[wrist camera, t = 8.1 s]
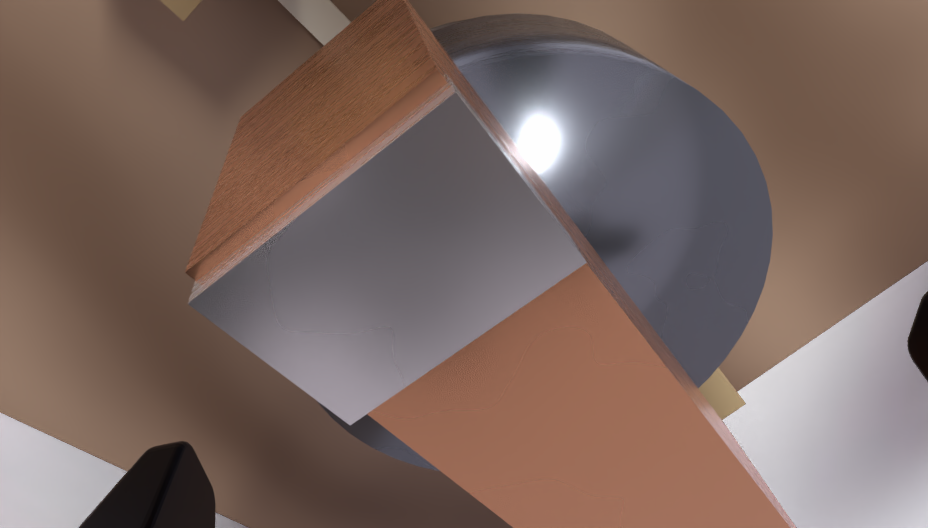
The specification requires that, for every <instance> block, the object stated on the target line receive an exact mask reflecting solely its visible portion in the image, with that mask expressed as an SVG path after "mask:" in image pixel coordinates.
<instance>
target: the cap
mask: <svg viewBox="0 0 928 528" xmlns="http://www.w3.org/2000/svg"><path fill="white" fill-rule="evenodd" d="M772 238H773V226H772V207H771V202H770V197H769V193H768V188H767V183H766V180H765V177H764V175H763V172H762V170H761V167H760V164H759V162H758V159H757V157H756V155H755V153H754V152H753V150H752V148H751V147H750V145H749V143H748V142H747V140H746V138H745V137H744V135H743V133H742V132H741V131H740V130H739V128H738V127H737V126H736V125H735V124H734V123H733V122H732V120H731V119H730V118H729V117H728V116H727V115H726V114H725V112H724V111H723V110H722V109H721V108H719V107H718V106H717V105H716V104H714V103H713V102H712V101H711V100H709V99H708V98H707V97H706V96H704V95H703V94H702V93H701V92H699V91H698V90H697V89H695V88H693V87H692V86H690V85H689V84H687V83H686V82H684V81H682V80H681V79H679V78H678V77H676V76H675V75H673V74H672V73H670V72H668V71H667V70H665V69H664V68H662V67H661V66H659V65H658V64H656V63H654V62H653V61H651V60H650V59H648V58H647V57H645V56H643V55H642V54H640V53H639V52H637V51H636V50H634V49H633V48H631V47H629V46H628V45H626V44H624V43H623V42H621V41H619V40H617V39H616V38H614V37H612V36H610V35H608V34H607V33H605V32H603V31H601V30H598V29H595V28H593V27H590V26H587V25H584V24H582V23H579V22H576V21H572V20H568V19H563V18H558V17H553V16H548V15H536V14H520V13H513V14H501V15H488V16H481V17H477V18H472V19H468V20H463V21H459V22H454V23H451V24H448V25H446V26H443V27H440V28H438V29H435V30H432V31H430V29H429V28H428V27H427V25H426V24H425V23H424V21H423V20H422V19H421V17H420V16H419V15H418V13H417V12H416V11H415V9H414V8H413V7H412V5H411V4H410V3H409V1H408V0H377V1H376V2H375V3H374V4H372V5H371V6H370V7H369V8H368V9H367V10H365V11H364V12H363V13H362V14H361V15H360V16H358V17H357V18H356V19H355V20H354V21H352V22H351V23H350V24H349V25H348V26H347V27H345V28H344V29H343V30H342V31H341V32H340V33H338V34H337V35H336V36H335V37H334V38H333V39H331V40H330V41H329V42H328V43H327V44H325V45H324V46H323V47H322V48H321V49H320V50H318V51H317V52H316V53H315V54H314V55H313V56H311V57H310V58H309V59H308V60H307V61H305V62H304V63H303V64H302V65H301V66H300V67H298V68H297V69H296V70H295V71H294V72H293V73H291V74H290V75H289V76H288V77H287V78H286V79H284V80H283V81H282V82H281V83H280V84H278V85H277V86H276V87H275V88H274V89H273V90H271V91H270V92H269V93H268V94H267V95H266V96H264V97H263V98H262V99H261V100H260V101H259V102H257V103H256V104H255V105H254V106H253V107H251V108H250V109H249V110H248V111H247V112H246V113H244V114H243V115H242V116H241V117H240V120H239V123H238V126H237V128H236V131H235V134H234V137H233V140H232V142H231V145H230V148H229V151H228V153H227V156H226V159H225V162H224V165H223V167H222V170H221V173H220V176H219V179H218V181H217V184H216V187H215V190H214V192H213V195H212V198H211V201H210V204H209V206H208V209H207V212H206V215H205V217H204V220H203V223H202V226H201V229H200V231H199V234H198V237H197V240H196V242H195V245H194V248H193V251H192V254H191V256H190V259H189V262H188V265H187V268H186V270H185V273H186V274H187V275H189V276H190V277H191V278H192V279H194V280H195V282H194V285H193V288H192V292H191V295H190V298H189V301H188V305H190V306H191V307H192V308H194V309H195V310H196V311H198V312H199V313H200V314H202V315H203V316H204V317H206V318H207V319H208V320H210V321H211V322H212V323H214V324H215V325H216V326H218V327H219V328H220V329H222V330H223V331H224V332H226V333H227V334H228V335H230V336H231V337H232V338H234V339H235V340H236V341H238V342H239V343H241V344H242V345H243V346H245V347H246V348H247V349H249V350H250V351H251V352H253V353H254V354H255V355H257V356H258V357H259V358H261V359H262V360H263V361H265V362H266V363H267V364H269V365H270V366H271V367H273V368H274V369H275V370H277V371H278V372H279V373H281V374H282V375H283V376H285V377H286V378H287V379H289V380H290V381H291V382H293V383H294V384H295V385H297V386H298V387H299V388H301V389H302V390H303V391H305V392H306V393H307V394H309V395H310V396H311V397H313V398H314V399H315V400H316V401H317V402H318V403H319V404H320V405H321V407H322V408H323V409H324V410H325V411H326V412H327V413H328V415H329V416H330V417H331V418H332V419H333V420H334V421H336V422H337V423H338V424H339V425H340V426H342V427H343V428H344V429H345V430H346V431H347V432H349V433H350V434H351V435H353V436H354V437H356V438H357V439H359V440H360V441H362V442H364V443H365V444H367V445H368V446H370V447H371V448H373V449H376V450H378V451H380V452H382V453H384V454H386V455H388V456H390V457H392V458H395V459H398V460H401V461H404V462H407V463H410V464H412V465H415V466H418V467H423V468H428V469H432V470H437V471H441V472H442V473H444V474H445V475H446V476H447V477H449V478H450V479H451V480H453V481H454V482H455V483H456V484H458V485H459V486H460V487H462V488H463V489H464V490H465V491H467V492H468V493H469V494H471V495H472V496H473V497H474V498H476V499H477V500H478V501H480V502H481V503H482V504H483V505H485V506H486V507H487V508H489V509H490V510H491V511H492V512H494V513H495V514H496V515H498V516H499V517H500V518H502V519H503V520H504V521H505V522H507V523H508V524H509V525H511V526H512V527H513V528H796V527H795V525H794V524H793V522H792V521H791V519H790V518H789V516H788V515H787V513H786V512H785V511H784V509H783V508H782V506H781V505H780V503H779V502H778V500H777V499H776V498H775V496H774V495H773V493H772V492H771V490H770V489H769V487H768V486H767V484H766V483H765V482H764V480H763V479H762V477H761V476H760V474H759V473H758V471H757V470H756V469H755V467H754V466H753V464H752V463H751V461H750V460H749V458H748V457H747V455H746V454H745V453H744V451H743V450H742V448H741V447H740V445H739V444H738V442H737V441H736V440H735V438H734V437H733V435H732V434H731V432H730V431H729V429H728V428H727V426H726V425H725V424H724V422H723V421H722V420H721V418H720V417H719V416H718V414H717V413H716V412H715V410H714V409H713V408H712V406H711V405H710V404H709V402H708V401H707V400H706V398H705V397H704V396H703V394H702V393H701V392H700V390H699V389H698V388H699V387H700V386H701V385H702V384H703V383H704V382H706V381H707V380H708V379H709V377H710V376H711V375H712V374H713V373H714V372H715V370H716V369H717V368H718V367H719V366H720V364H721V363H722V362H723V361H724V360H725V359H726V357H727V356H728V354H729V353H730V351H731V350H732V348H733V347H734V346H735V344H736V343H737V341H738V340H739V338H740V337H741V335H742V333H743V332H744V330H745V328H746V326H747V324H748V322H749V320H750V318H751V316H752V315H753V313H754V310H755V308H756V305H757V303H758V300H759V298H760V295H761V292H762V290H763V287H764V284H765V280H766V276H767V272H768V267H769V263H770V257H771V248H772Z"/></svg>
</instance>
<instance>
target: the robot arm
mask: <svg viewBox="0 0 928 528" xmlns="http://www.w3.org/2000/svg"><path fill="white" fill-rule="evenodd" d="M908 351H909V354H910V356H911V358H912V360H913V362H914V363H915V365H916V366H917V367H918V369H919V370H920V372H921V373H922V374H923V376H924V377H925V379H926V380H927V382H928V292H927V293H926V294H925V295H924V296H923V297H922V299H921V302H920V305H919V308H918V311H917V314H916V317H915V319H914V322H913V325H912V328H911V331H910V334H909V337H908ZM215 510H216V504H215V495H214V491H213V487H212V485H211V483H210V481H209V479H208V477H207V475H206V473H205V471H204V469H203V467H202V465H201V463H200V461H199V459H198V457H197V454H196V452H195V450H194V449H193V447H192V446H191V445H190V444H189V443H188V442H186V441H178V442H173V443H168V444H163V445H159V446H154V447H152V448H150V449H148V450H147V451H146V452H145V453H144V454H143V455H142V456H141V457H140V458H139V459H138V460H137V461H136V463H135V464H134V465H133V466H132V467H131V468H130V469H129V470H128V472H127V473H126V474H125V475H124V476H123V477H122V478H121V480H120V481H119V482H118V483H117V484H116V485H115V486H114V488H113V489H112V490H111V491H110V492H109V493H108V494H107V496H106V497H105V498H104V499H103V500H102V501H101V502H100V504H99V505H98V506H97V507H96V508H95V509H94V510H93V512H92V513H91V514H90V515H89V516H88V517H87V518H86V520H85V521H84V522H83V523H82V524H81V525H80V526H79V528H215Z"/></svg>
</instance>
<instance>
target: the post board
mask: <svg viewBox="0 0 928 528" xmlns="http://www.w3.org/2000/svg"><path fill="white" fill-rule="evenodd" d="M376 1H377V0H0V412H1V413H3V414H5V415H7V416H9V417H11V418H14V419H16V420H18V421H20V422H22V423H24V424H26V425H29V426H31V427H33V428H35V429H37V430H39V431H42V432H44V433H46V434H48V435H50V436H52V437H55V438H57V439H59V440H61V441H63V442H65V443H67V444H70V445H72V446H74V447H76V448H78V449H80V450H83V451H85V452H87V453H89V454H91V455H93V456H95V457H98V458H100V459H102V460H104V461H106V462H108V463H111V464H113V465H115V466H117V467H119V468H121V469H124V470H126V471H128V470H129V469H130V468H131V467H132V466H133V465H134V464H135V463H136V461H137V460H138V459H139V458H140V457H141V456H142V455H143V454H144V453H145V452H146V451H147V450H148V449H150V448H152V447H154V446H159V445H163V444H168V443H173V442H178V441H186V442H188V443H189V444H190V445H191V446H192V447H193V449H194V450H195V452H196V454H197V457H198V459H199V461H200V463H201V465H202V467H203V469H204V471H205V473H206V475H207V477H208V479H209V481H210V483H211V485H212V487H213V491H214V495H215V504H216V510H215V512H216V513H218V514H221V515H223V516H225V517H227V518H229V519H231V520H233V521H236V522H238V523H240V524H242V525H244V526H246V527H249V528H513V527H512V526H511V525H509V524H508V523H507V522H505V521H504V520H503V519H502V518H500V517H499V516H498V515H496V514H495V513H494V512H492V511H491V510H490V509H489V508H487V507H486V506H485V505H483V504H482V503H481V502H480V501H478V500H477V499H476V498H474V497H473V496H472V495H471V494H469V493H468V492H467V491H465V490H464V489H463V488H462V487H460V486H459V485H458V484H456V483H455V482H454V481H453V480H451V479H450V478H449V477H447V476H446V475H445V474H444V473H442V472H441V471H437V470H432V469H428V468H423V467H418V466H415V465H412V464H410V463H407V462H404V461H401V460H398V459H395V458H392V457H390V456H388V455H386V454H384V453H382V452H380V451H378V450H376V449H373V448H371V447H370V446H368V445H367V444H365V443H364V442H362V441H360V440H359V439H357V438H356V437H354V436H353V435H351V434H350V433H349V432H347V431H346V430H345V429H344V428H343V427H342V426H340V425H339V424H338V423H337V422H336V421H334V420H333V419H332V418H331V417H330V416H329V415H328V413H327V412H326V411H325V410H324V409H323V408H322V407H321V405H320V404H319V403H318V402H317V401H316V400H315V399H314V398H313V397H311V396H310V395H309V394H307V393H306V392H305V391H303V390H302V389H301V388H299V387H298V386H297V385H295V384H294V383H293V382H291V381H290V380H289V379H287V378H286V377H285V376H283V375H282V374H281V373H279V372H278V371H277V370H275V369H274V368H273V367H271V366H270V365H269V364H267V363H266V362H265V361H263V360H262V359H261V358H259V357H258V356H257V355H255V354H254V353H253V352H251V351H250V350H249V349H247V348H246V347H245V346H243V345H242V344H241V343H239V342H238V341H236V340H235V339H234V338H232V337H231V336H230V335H228V334H227V333H226V332H224V331H223V330H222V329H220V328H219V327H218V326H216V325H215V324H214V323H212V322H211V321H210V320H208V319H207V318H206V317H204V316H203V315H202V314H200V313H199V312H198V311H196V310H195V309H194V308H192V307H191V306H190V305H188V301H189V298H190V295H191V292H192V288H193V285H194V282H195V280H194V279H192V278H191V277H190V276H189V275H187V274H186V273H185V270H186V268H187V265H188V262H189V259H190V256H191V254H192V251H193V248H194V245H195V242H196V240H197V237H198V234H199V231H200V229H201V226H202V223H203V220H204V217H205V215H206V212H207V209H208V206H209V204H210V201H211V198H212V195H213V192H214V190H215V187H216V184H217V181H218V179H219V176H220V173H221V170H222V167H223V165H224V162H225V159H226V156H227V153H228V151H229V148H230V145H231V142H232V140H233V137H234V134H235V131H236V128H237V126H238V123H239V120H240V117H241V116H242V115H243V114H244V113H246V112H247V111H248V110H249V109H250V108H251V107H253V106H254V105H255V104H256V103H257V102H259V101H260V100H261V99H262V98H263V97H264V96H266V95H267V94H268V93H269V92H270V91H271V90H273V89H274V88H275V87H276V86H277V85H278V84H280V83H281V82H282V81H283V80H284V79H286V78H287V77H288V76H289V75H290V74H291V73H293V72H294V71H295V70H296V69H297V68H298V67H300V66H301V65H302V64H303V63H304V62H305V61H307V60H308V59H309V58H310V57H311V56H313V55H314V54H315V53H316V52H317V51H318V50H320V49H321V48H322V47H323V46H324V45H325V44H327V43H328V42H329V41H330V40H331V39H333V38H334V37H335V36H336V35H337V34H338V33H340V32H341V31H342V30H343V29H344V28H345V27H347V26H348V25H349V24H350V23H351V22H352V21H354V20H355V19H356V18H357V17H358V16H360V15H361V14H362V13H363V12H364V11H365V10H367V9H368V8H369V7H370V6H371V5H372V4H374V3H375V2H376ZM408 1H409V3H410V4H411V5H412V7H413V8H414V9H415V11H416V12H417V13H418V15H419V16H420V17H421V19H422V20H423V21H424V23H425V24H426V25H427V27H428V28H429V29H430V31H432V30H435V29H438V28H440V27H443V26H446V25H448V24H451V23H454V22H459V21H463V20H468V19H472V18H477V17H481V16H488V15H501V14H513V13H520V14H536V15H548V16H553V17H558V18H563V19H568V20H572V21H576V22H579V23H582V24H584V25H587V26H590V27H593V28H595V29H598V30H601V31H603V32H605V33H607V34H608V35H610V36H612V37H614V38H616V39H617V40H619V41H621V42H623V43H624V44H626V45H628V46H629V47H631V48H633V49H634V50H636V51H637V52H639V53H640V54H642V55H643V56H645V57H647V58H648V59H650V60H651V61H653V62H654V63H656V64H658V65H659V66H661V67H662V68H664V69H665V70H667V71H668V72H670V73H672V74H673V75H675V76H676V77H678V78H679V79H681V80H682V81H684V82H686V83H687V84H689V85H690V86H692V87H693V88H695V89H697V90H698V91H699V92H701V93H702V94H703V95H704V96H706V97H707V98H708V99H709V100H711V101H712V102H713V103H714V104H716V105H717V106H718V107H719V108H721V109H722V110H723V111H724V112H725V114H726V115H727V116H728V117H729V118H730V119H731V120H732V122H733V123H734V124H735V125H736V126H737V127H738V128H739V130H740V131H741V132H742V133H743V135H744V137H745V138H746V140H747V142H748V143H749V145H750V147H751V148H752V150H753V152H754V153H755V155H756V157H757V159H758V162H759V164H760V167H761V170H762V172H763V175H764V177H765V180H766V183H767V188H768V193H769V197H770V202H771V207H772V226H773V238H772V248H771V257H770V263H769V267H768V272H767V276H766V280H765V284H764V287H763V290H762V292H761V295H760V298H759V300H758V303H757V305H756V308H755V310H754V313H753V315H752V316H751V318H750V320H749V322H748V324H747V326H746V328H745V330H744V332H743V333H742V335H741V337H740V338H739V340H738V341H737V343H736V344H735V346H734V347H733V348H732V350H731V351H730V353H729V354H728V356H727V357H726V359H725V360H724V361H723V362H722V363H721V364H720V366H719V367H718V368H717V369H716V370H715V372H714V373H713V374H712V375H711V376H710V377H709V379H708V380H707V381H706V382H704V383H703V384H702V385H701V386H700V387H699V388H698V389H699V390H700V392H701V393H702V394H703V396H704V397H705V398H706V400H707V401H708V402H709V404H710V405H711V406H712V408H713V409H714V410H715V412H716V413H717V414H718V416H719V417H720V418H721V420H723V419H724V418H726V417H727V416H729V415H730V414H732V413H733V412H735V411H736V410H737V409H739V408H740V407H742V406H743V405H745V404H746V403H745V402H744V401H743V399H742V398H741V397H740V395H739V394H738V393H737V391H739V390H740V389H742V388H743V387H744V386H746V385H747V384H749V383H750V382H752V381H753V380H755V379H756V378H758V377H759V376H761V375H762V374H763V373H765V372H766V371H768V370H769V369H771V368H772V367H774V366H775V365H777V364H778V363H779V362H781V361H782V360H784V359H785V358H787V357H788V356H790V355H791V354H793V353H794V352H796V351H797V350H798V349H800V348H801V347H803V346H804V345H806V344H807V343H809V342H810V341H812V340H813V339H814V338H816V337H817V336H819V335H820V334H822V333H823V332H825V331H826V330H828V329H829V328H831V327H832V326H833V325H835V324H836V323H838V322H839V321H841V320H842V319H844V318H845V317H847V316H848V315H849V314H851V313H852V312H854V311H855V310H857V309H858V308H860V307H861V306H863V305H864V304H865V303H867V302H868V301H870V300H871V299H873V298H874V297H876V296H877V295H879V294H880V293H882V292H883V291H884V290H886V289H887V288H889V287H890V286H892V285H893V284H895V283H896V282H898V281H899V280H900V279H902V278H903V277H905V276H906V275H908V274H909V273H911V272H912V271H914V270H915V269H917V268H918V267H919V266H921V265H922V264H924V263H925V262H927V261H928V0H408Z"/></svg>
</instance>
